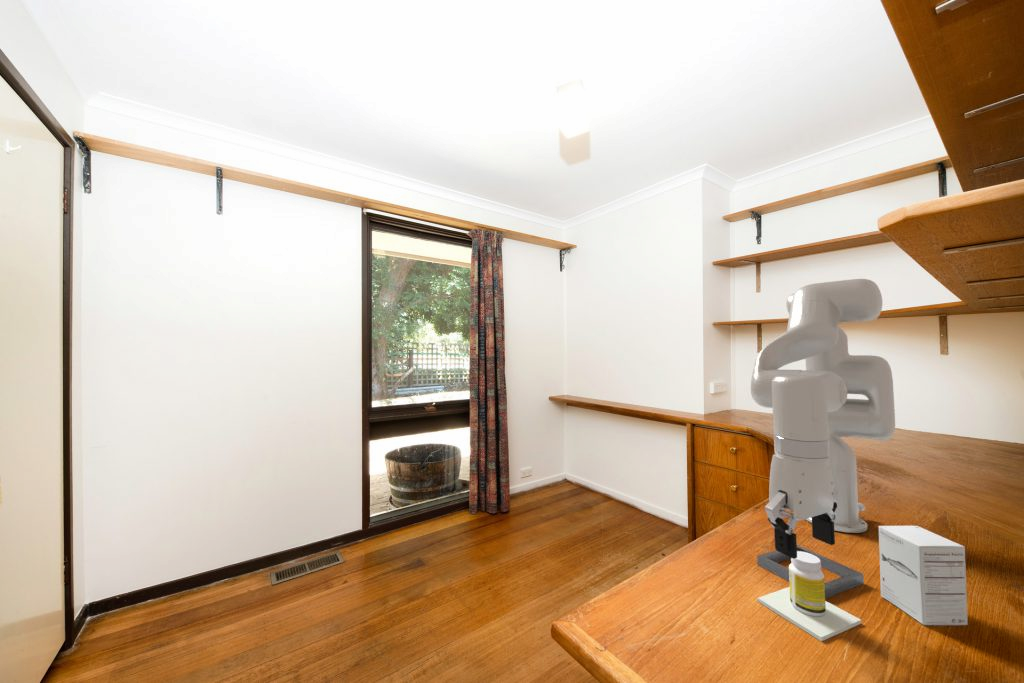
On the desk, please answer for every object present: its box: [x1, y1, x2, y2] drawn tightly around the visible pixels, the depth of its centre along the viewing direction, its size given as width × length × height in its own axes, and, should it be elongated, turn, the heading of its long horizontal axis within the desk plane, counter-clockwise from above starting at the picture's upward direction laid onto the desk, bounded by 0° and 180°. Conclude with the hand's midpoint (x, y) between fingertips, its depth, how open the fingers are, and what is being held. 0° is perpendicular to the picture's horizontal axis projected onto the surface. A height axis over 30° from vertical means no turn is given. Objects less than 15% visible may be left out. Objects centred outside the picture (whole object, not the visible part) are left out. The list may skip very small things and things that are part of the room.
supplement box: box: [878, 525, 969, 626], centre depth 64 cm, size 7×7×13 cm
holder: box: [756, 544, 865, 600], centre depth 75 cm, size 12×12×2 cm
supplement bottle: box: [788, 551, 826, 616], centre depth 64 cm, size 5×5×8 cm
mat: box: [757, 586, 862, 642], centre depth 64 cm, size 10×10×1 cm
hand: (805, 547), depth 65 cm, fingers open, 9 cm apart
